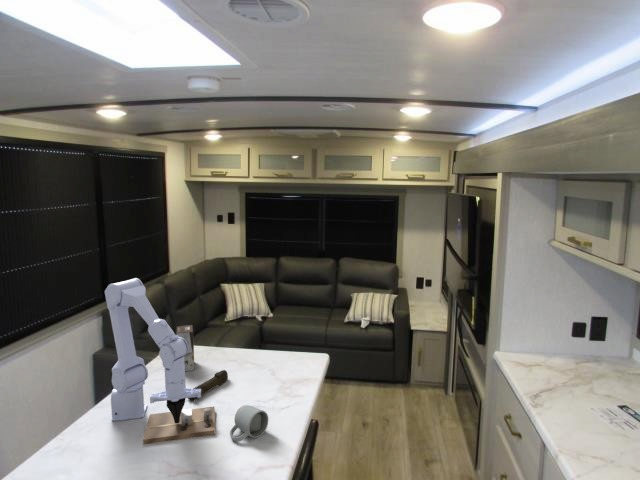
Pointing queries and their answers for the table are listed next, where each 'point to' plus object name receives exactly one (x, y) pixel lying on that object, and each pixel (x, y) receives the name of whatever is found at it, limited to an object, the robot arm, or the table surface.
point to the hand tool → (212, 383)
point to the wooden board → (179, 426)
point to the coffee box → (187, 334)
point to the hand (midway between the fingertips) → (177, 421)
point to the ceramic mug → (249, 422)
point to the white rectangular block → (186, 417)
